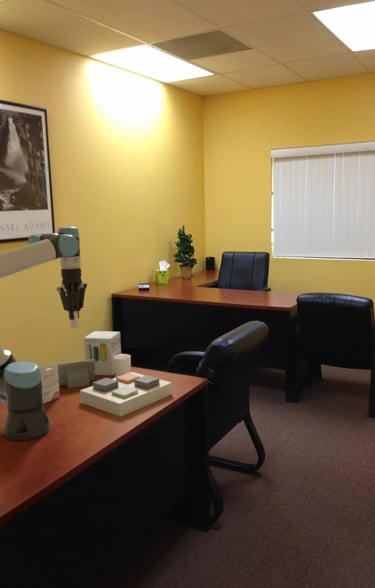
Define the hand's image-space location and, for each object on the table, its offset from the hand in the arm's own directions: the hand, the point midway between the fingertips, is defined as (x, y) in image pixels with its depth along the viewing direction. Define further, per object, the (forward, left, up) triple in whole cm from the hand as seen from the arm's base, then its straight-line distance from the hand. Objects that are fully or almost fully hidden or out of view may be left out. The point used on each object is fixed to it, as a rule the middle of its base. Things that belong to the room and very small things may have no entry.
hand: (74, 327), depth 202 cm
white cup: (+28, +5, -30) cm, 41 cm away
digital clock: (+11, +15, -30) cm, 35 cm away
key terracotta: (+18, -10, -28) cm, 35 cm away
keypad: (+12, -15, -29) cm, 35 cm away
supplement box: (+30, +20, -30) cm, 47 cm away
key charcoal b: (+18, -20, -27) cm, 38 cm away
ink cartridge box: (-8, +10, -30) cm, 32 cm away
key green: (+6, -21, -28) cm, 35 cm away
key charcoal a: (+6, -10, -27) cm, 29 cm away
